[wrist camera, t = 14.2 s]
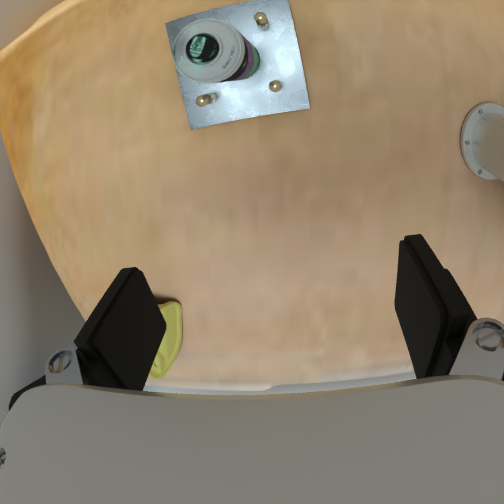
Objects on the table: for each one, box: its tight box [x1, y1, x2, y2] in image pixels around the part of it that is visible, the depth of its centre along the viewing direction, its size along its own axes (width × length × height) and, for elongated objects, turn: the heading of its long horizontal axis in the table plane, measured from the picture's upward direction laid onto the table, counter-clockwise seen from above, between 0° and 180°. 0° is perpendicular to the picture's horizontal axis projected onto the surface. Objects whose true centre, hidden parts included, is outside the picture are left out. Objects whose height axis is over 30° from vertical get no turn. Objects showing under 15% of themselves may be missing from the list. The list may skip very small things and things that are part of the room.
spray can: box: [173, 18, 260, 84], centre depth 26 cm, size 6×6×20 cm
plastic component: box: [149, 301, 182, 380], centre depth 62 cm, size 20×7×10 cm
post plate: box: [165, 0, 310, 130], centre depth 33 cm, size 16×16×6 cm
